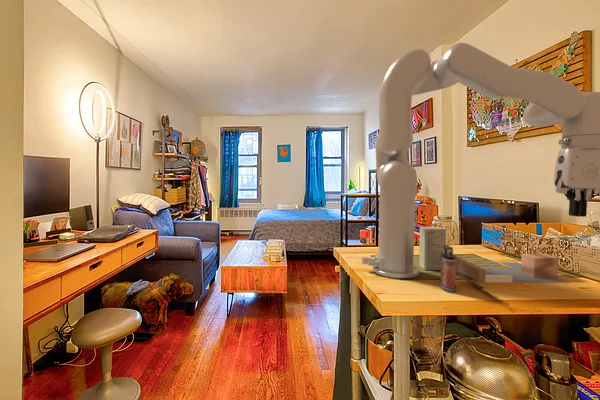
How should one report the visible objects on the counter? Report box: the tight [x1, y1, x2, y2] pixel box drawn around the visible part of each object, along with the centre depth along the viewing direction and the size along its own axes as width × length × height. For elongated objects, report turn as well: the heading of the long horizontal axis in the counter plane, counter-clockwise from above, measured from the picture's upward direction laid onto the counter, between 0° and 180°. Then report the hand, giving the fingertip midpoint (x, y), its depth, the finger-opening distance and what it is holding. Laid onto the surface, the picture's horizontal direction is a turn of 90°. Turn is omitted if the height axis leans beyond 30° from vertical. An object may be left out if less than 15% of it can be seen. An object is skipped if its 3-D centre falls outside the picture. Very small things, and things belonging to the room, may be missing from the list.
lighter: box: [439, 244, 458, 294], centre depth 73 cm, size 8×3×10 cm, turn 163°
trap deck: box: [453, 254, 571, 289], centre depth 81 cm, size 22×18×4 cm
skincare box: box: [418, 226, 447, 271], centre depth 88 cm, size 6×4×12 cm
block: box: [520, 253, 560, 278], centre depth 77 cm, size 6×4×5 cm
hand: (577, 215), depth 76 cm, fingers closed
